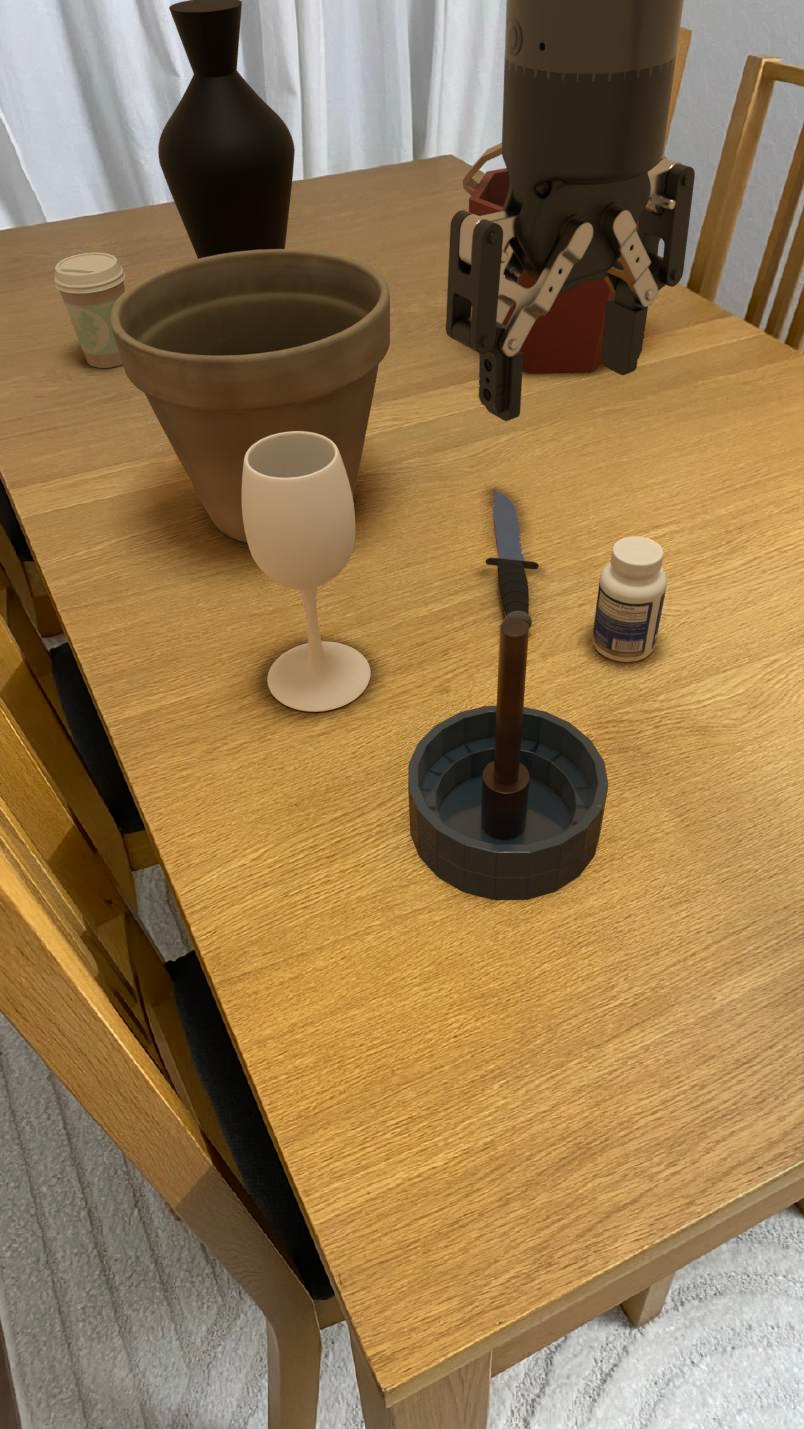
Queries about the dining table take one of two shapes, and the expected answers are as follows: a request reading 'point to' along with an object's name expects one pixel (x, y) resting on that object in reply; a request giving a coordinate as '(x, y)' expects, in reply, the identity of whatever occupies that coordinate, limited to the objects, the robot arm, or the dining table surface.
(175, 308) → the flower pot
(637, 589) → the pill bottle
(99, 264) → the coffee cup
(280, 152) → the vase
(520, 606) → the knife
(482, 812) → the muddler
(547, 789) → the bowl
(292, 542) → the wineglass
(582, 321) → the bucket
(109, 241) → the dining table surface
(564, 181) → the robot arm
